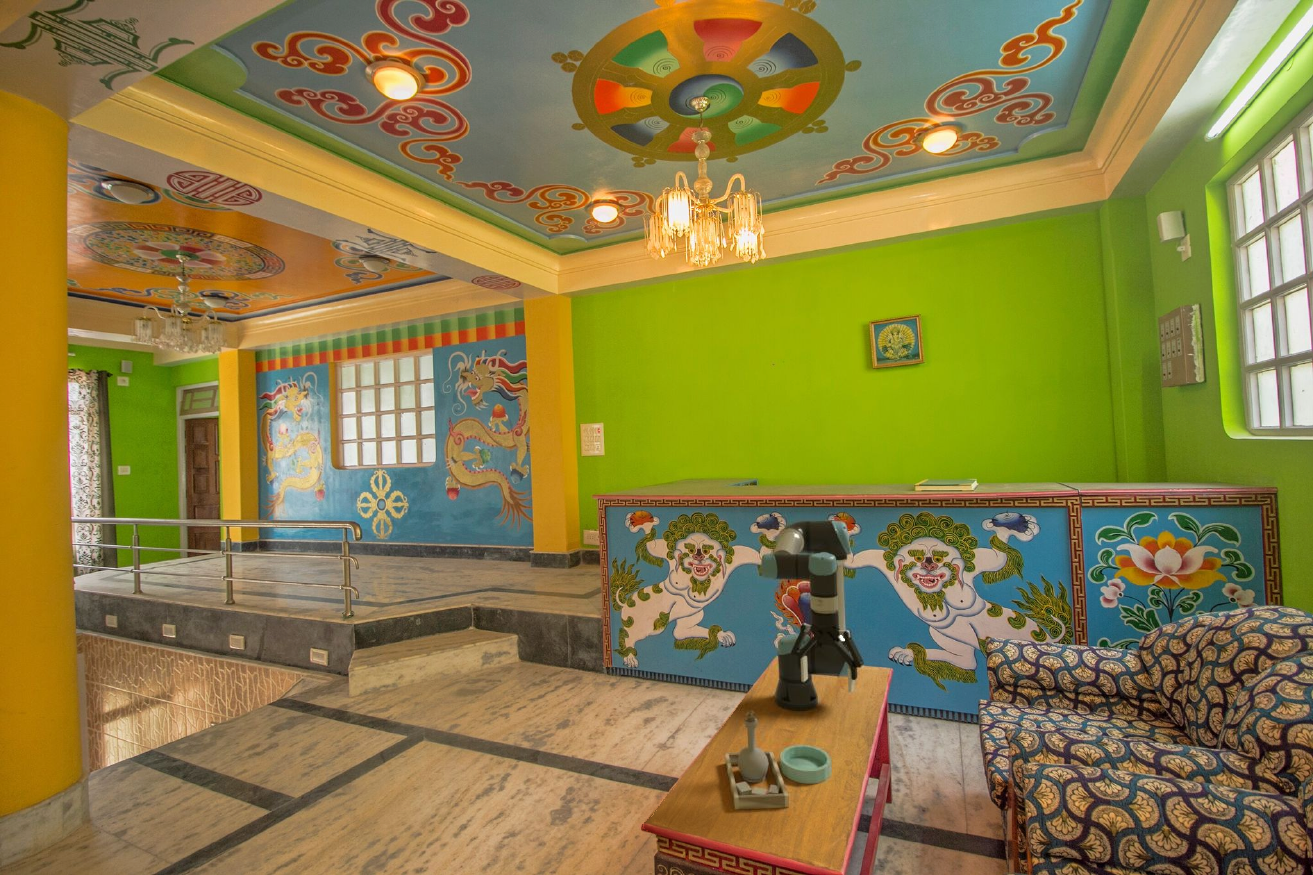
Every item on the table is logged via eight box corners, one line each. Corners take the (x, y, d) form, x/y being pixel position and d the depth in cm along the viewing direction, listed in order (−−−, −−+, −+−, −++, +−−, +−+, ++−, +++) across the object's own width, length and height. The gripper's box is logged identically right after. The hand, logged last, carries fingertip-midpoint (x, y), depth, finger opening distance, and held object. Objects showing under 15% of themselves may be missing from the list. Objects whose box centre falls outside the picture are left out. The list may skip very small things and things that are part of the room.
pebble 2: (771, 792, 163) (770, 784, 163) (780, 794, 163) (780, 785, 163) (768, 799, 160) (768, 791, 160) (778, 801, 159) (777, 793, 159)
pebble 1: (751, 801, 160) (751, 792, 160) (754, 795, 162) (754, 786, 162) (764, 804, 158) (764, 795, 158) (767, 798, 161) (766, 789, 161)
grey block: (735, 792, 164) (735, 783, 164) (745, 790, 165) (745, 781, 165) (741, 801, 160) (741, 791, 160) (752, 798, 161) (751, 789, 161)
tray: (725, 763, 178) (725, 753, 178) (772, 761, 178) (772, 751, 178) (735, 809, 156) (734, 797, 156) (789, 807, 156) (788, 795, 156)
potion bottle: (770, 769, 174) (768, 707, 174) (766, 786, 166) (763, 721, 166) (740, 765, 177) (738, 704, 177) (734, 782, 169) (731, 718, 169)
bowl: (776, 757, 180) (776, 745, 180) (823, 755, 180) (822, 743, 180) (786, 784, 166) (786, 771, 166) (837, 782, 166) (836, 769, 166)
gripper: (777, 607, 174) (780, 680, 174) (864, 620, 159) (867, 700, 159) (789, 600, 180) (792, 671, 180) (873, 612, 165) (876, 690, 165)
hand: (827, 685), depth 169 cm, fingers open, 13 cm apart
